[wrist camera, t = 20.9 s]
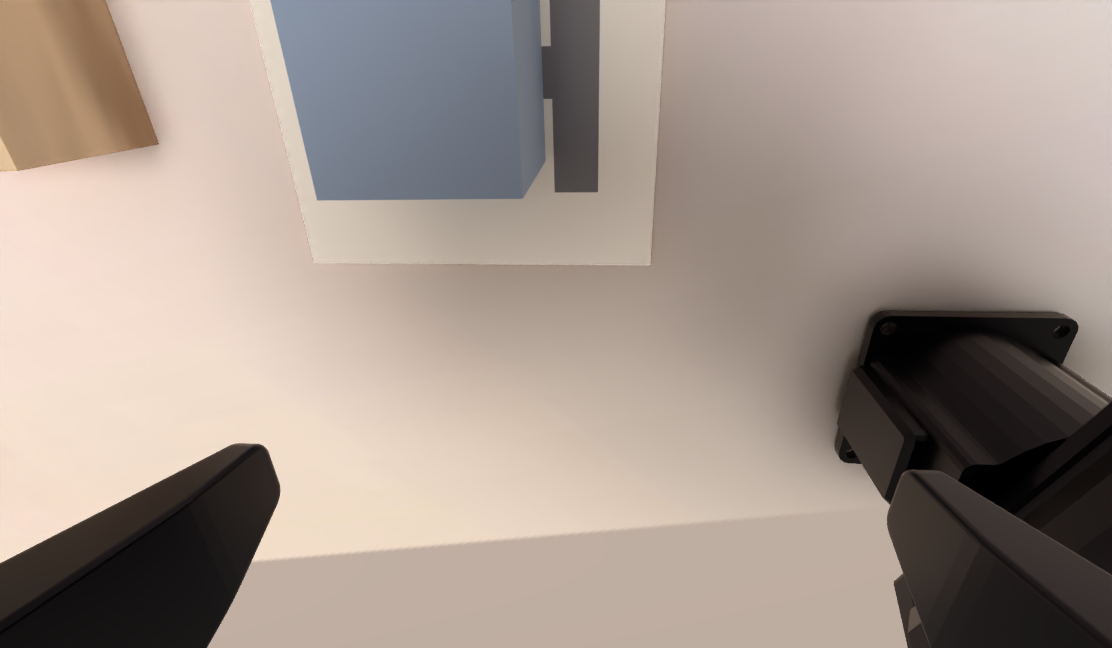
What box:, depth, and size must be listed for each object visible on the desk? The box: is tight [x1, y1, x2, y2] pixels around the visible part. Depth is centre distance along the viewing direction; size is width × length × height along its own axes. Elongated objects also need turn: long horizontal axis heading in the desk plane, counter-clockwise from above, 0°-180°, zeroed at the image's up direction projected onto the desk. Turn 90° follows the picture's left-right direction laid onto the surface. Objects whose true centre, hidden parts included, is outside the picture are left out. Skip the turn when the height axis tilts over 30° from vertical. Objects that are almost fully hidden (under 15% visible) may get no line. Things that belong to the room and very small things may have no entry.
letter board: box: [249, 0, 666, 266], centre depth 16 cm, size 12×12×1 cm
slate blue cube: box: [270, 0, 546, 201], centre depth 14 cm, size 5×5×5 cm
